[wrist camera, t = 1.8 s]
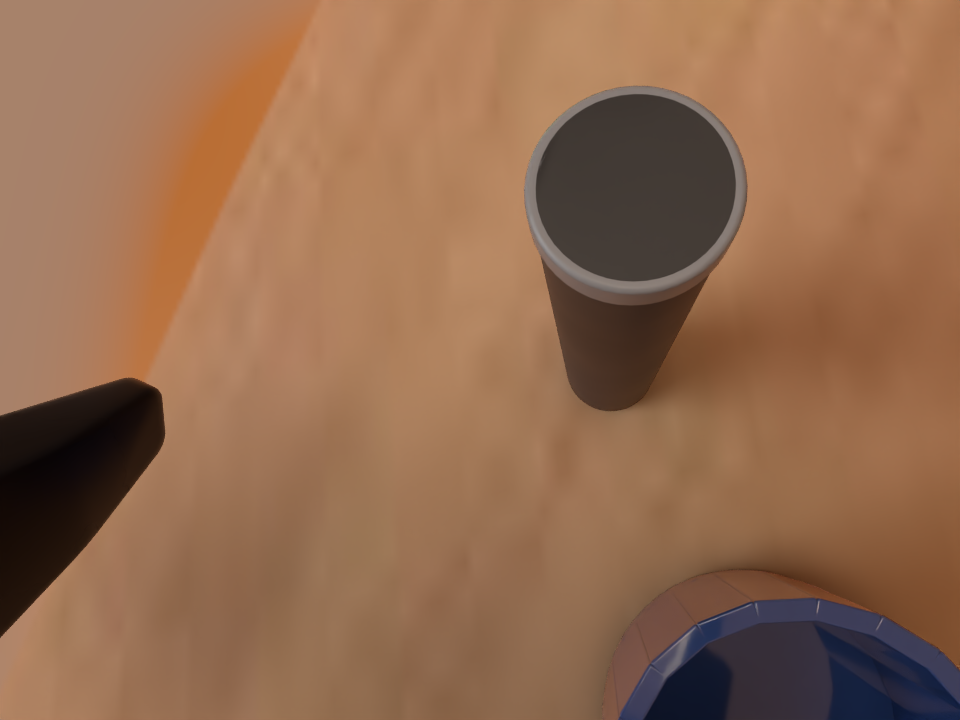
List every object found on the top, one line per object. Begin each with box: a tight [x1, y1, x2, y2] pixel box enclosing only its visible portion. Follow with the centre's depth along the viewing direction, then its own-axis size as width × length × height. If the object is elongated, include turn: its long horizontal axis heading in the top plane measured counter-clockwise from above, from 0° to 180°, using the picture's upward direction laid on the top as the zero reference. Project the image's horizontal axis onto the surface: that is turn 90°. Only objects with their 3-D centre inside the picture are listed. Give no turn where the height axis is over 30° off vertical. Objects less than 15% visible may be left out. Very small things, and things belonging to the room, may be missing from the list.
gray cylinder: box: [524, 86, 747, 411], centre depth 14 cm, size 2×2×12 cm
